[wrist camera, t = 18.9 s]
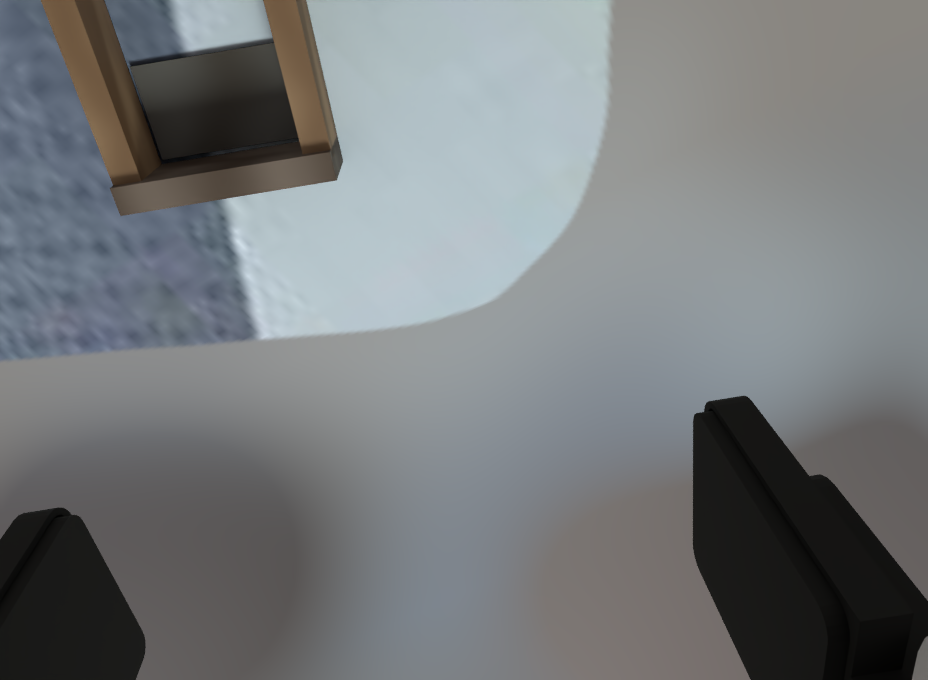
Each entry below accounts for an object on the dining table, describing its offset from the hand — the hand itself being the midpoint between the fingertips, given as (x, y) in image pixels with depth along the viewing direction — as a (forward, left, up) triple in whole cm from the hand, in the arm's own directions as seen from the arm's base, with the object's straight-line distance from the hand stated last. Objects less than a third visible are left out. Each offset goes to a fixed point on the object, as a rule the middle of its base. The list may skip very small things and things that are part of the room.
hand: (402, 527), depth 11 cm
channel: (-10, +6, -33) cm, 35 cm away
